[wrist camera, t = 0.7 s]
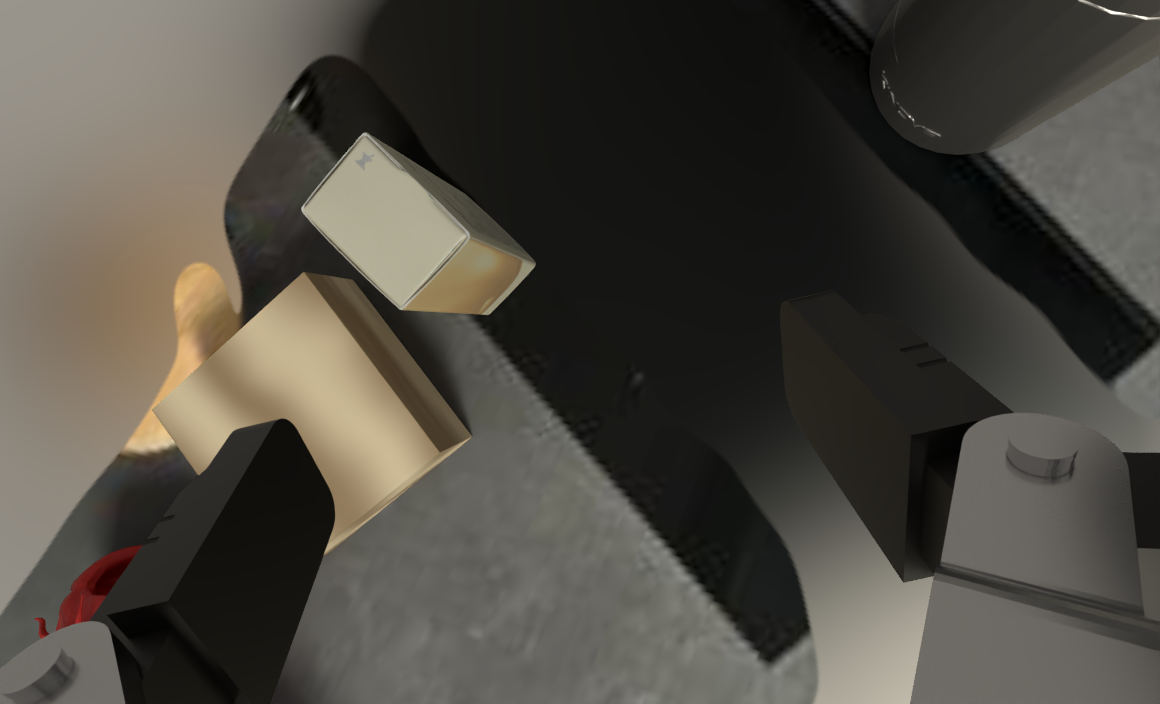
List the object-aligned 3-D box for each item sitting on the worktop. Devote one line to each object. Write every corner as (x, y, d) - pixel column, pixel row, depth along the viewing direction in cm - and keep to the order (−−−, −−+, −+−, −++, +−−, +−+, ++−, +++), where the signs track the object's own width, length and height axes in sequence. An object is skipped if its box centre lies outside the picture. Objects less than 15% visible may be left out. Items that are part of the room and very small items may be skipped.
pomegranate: (291, 626, 40) (176, 717, 31) (178, 705, 41) (36, 814, 32) (205, 497, 40) (68, 548, 31) (96, 579, 42) (-66, 651, 32)
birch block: (353, 279, 38) (303, 271, 33) (472, 436, 37) (439, 452, 32) (217, 400, 40) (151, 409, 35) (328, 553, 39) (276, 585, 34)
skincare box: (417, 246, 37) (289, 204, 25) (465, 191, 37) (358, 122, 25) (492, 321, 37) (398, 315, 25) (542, 266, 36) (471, 233, 24)
